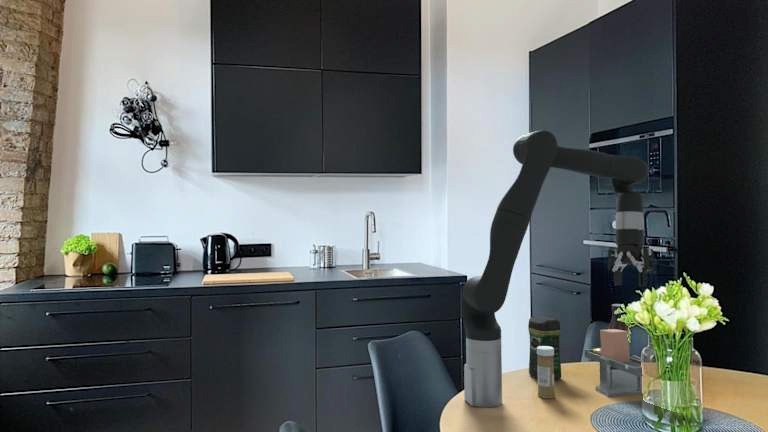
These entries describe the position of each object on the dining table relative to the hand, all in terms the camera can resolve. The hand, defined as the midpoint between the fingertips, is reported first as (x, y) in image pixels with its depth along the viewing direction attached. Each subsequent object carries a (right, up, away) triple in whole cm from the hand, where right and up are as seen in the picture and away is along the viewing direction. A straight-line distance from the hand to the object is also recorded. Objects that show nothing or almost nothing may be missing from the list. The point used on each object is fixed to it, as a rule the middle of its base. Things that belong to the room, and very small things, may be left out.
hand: (630, 285), depth 159 cm
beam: (-4, -21, -3) cm, 22 cm away
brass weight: (-5, -21, +7) cm, 23 cm away
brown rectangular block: (-4, -21, 0) cm, 21 cm away
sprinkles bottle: (-25, -30, -5) cm, 39 cm away
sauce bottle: (+8, -30, +26) cm, 40 cm away
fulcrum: (-4, -29, -3) cm, 30 cm away
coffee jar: (-20, -30, +13) cm, 38 cm away
